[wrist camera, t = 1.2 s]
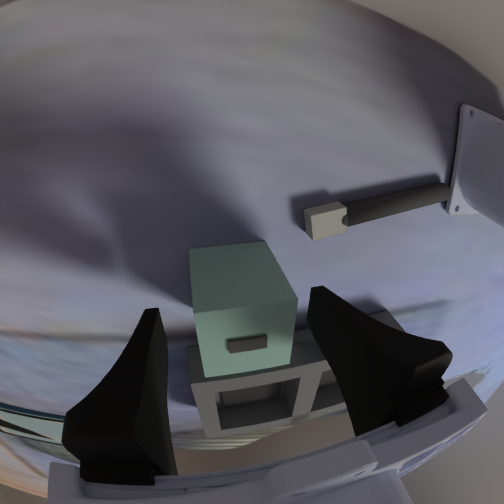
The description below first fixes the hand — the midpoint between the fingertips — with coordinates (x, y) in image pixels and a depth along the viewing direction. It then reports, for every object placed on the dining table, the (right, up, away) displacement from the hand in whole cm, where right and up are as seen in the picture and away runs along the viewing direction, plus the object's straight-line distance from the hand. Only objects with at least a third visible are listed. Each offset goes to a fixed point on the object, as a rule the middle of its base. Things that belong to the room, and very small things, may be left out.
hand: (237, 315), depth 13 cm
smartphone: (-23, -15, +7) cm, 29 cm away
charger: (-1, +2, +3) cm, 3 cm away
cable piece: (+9, +6, +3) cm, 11 cm away
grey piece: (+4, -6, +8) cm, 11 cm away
